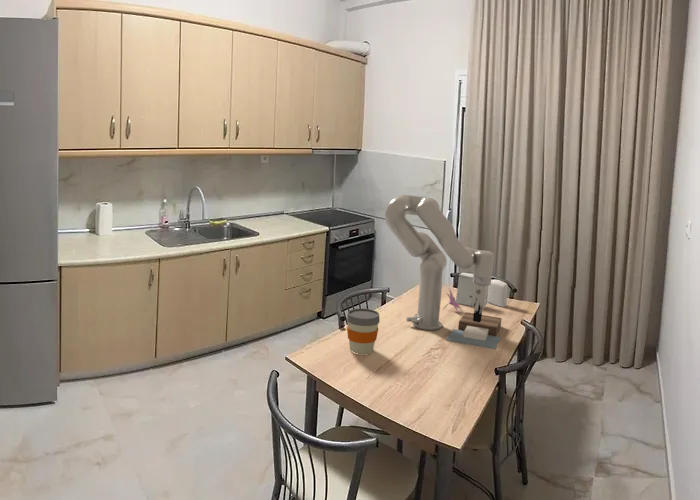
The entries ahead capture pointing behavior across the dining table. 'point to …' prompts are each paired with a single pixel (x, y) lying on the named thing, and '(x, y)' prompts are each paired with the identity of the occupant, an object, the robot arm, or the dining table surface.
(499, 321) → the block
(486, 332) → the tile
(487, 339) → the mat
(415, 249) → the robot arm
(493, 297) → the photo printer
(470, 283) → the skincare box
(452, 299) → the lily
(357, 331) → the reusable coffee cup
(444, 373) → the dining table surface
